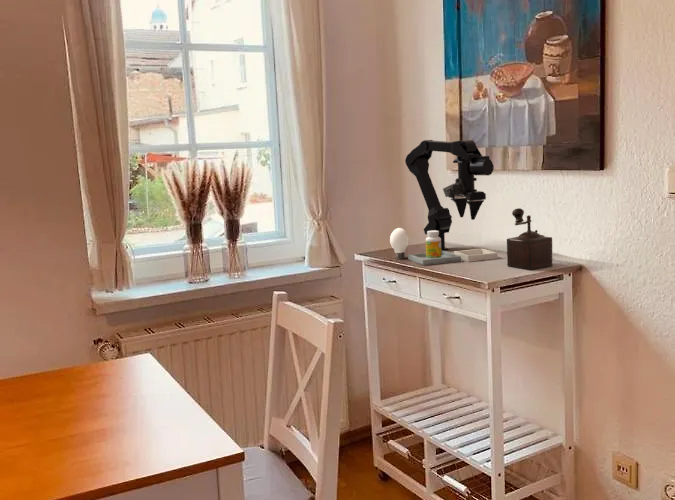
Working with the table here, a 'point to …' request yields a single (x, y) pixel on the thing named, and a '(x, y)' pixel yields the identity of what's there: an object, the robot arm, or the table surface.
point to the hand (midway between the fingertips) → (467, 218)
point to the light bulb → (399, 242)
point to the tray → (445, 258)
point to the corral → (476, 254)
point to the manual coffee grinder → (528, 247)
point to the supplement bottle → (433, 245)
